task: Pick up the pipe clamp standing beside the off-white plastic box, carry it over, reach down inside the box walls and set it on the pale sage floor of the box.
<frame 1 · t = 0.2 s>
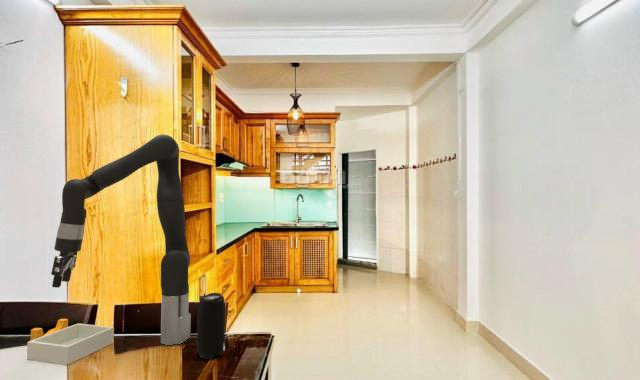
hand: (61, 284, 121), 22 cm above the table, tool pointing down, fingers open, 8 cm apart
walled box: (72, 350, 121), on the table
pipe clamp: (47, 342, 129), on the table
portable speaker: (210, 355, 118), on the table
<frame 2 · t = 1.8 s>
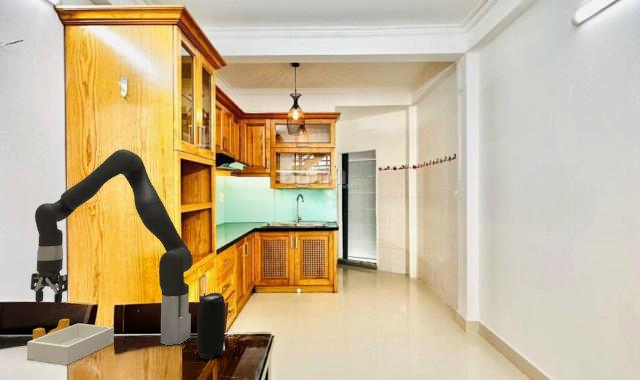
hand: (48, 302, 129), 14 cm above the table, tool pointing down, fingers open, 8 cm apart
nothing on the table moved.
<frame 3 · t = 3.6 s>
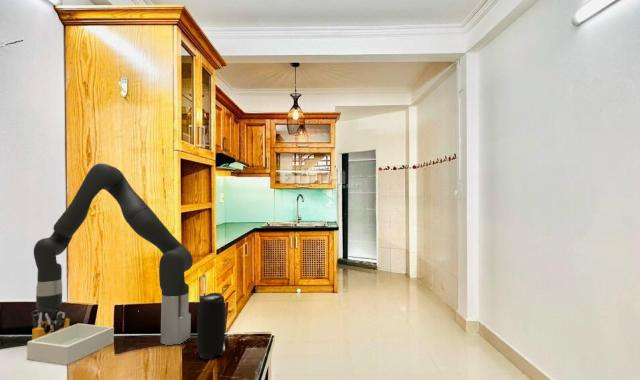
hand: (48, 339, 129), 1 cm above the table, tool pointing down, fingers open, 4 cm apart
nothing on the table moved.
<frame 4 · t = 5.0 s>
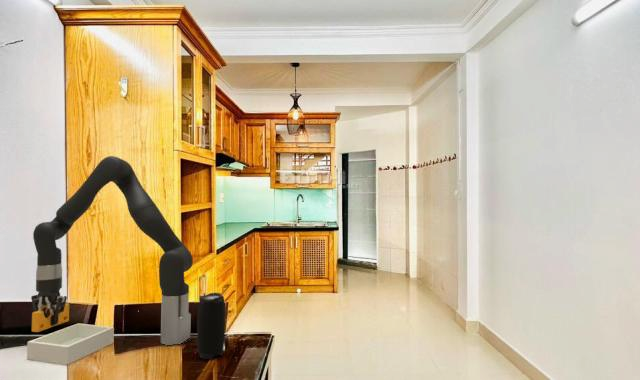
hand: (48, 324, 129), 6 cm above the table, tool pointing down, fingers closed on pipe clamp, 4 cm apart
pipe clamp: (49, 326, 129), point 5 cm above the table, touching gripper
everything else where it was.
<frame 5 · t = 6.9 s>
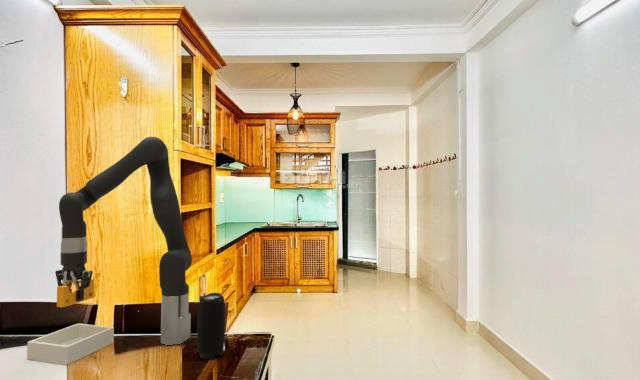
hand: (73, 300, 122), 17 cm above the table, tool pointing down, fingers closed on pipe clamp, 4 cm apart
pipe clamp: (74, 302, 122), point 16 cm above the table, touching gripper
everything else where it was.
when the fingers open (3 cm above the table, at t = 9.8 s): pipe clamp drops 1 cm, resting on walled box.
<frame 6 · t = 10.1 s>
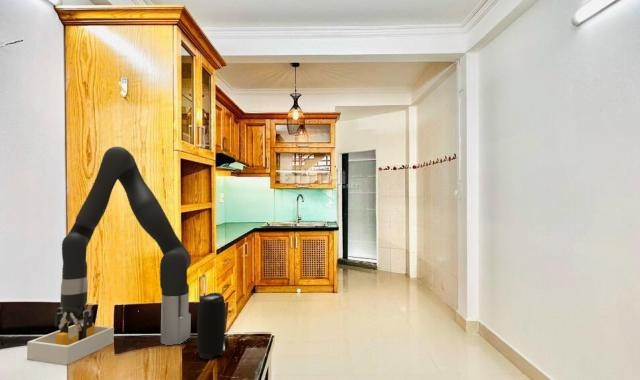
hand: (72, 339, 121), 4 cm above the table, tool pointing down, fingers open, 7 cm apart
pipe clamp: (73, 348, 121), point 1 cm above the table, touching walled box
everything else where it was.
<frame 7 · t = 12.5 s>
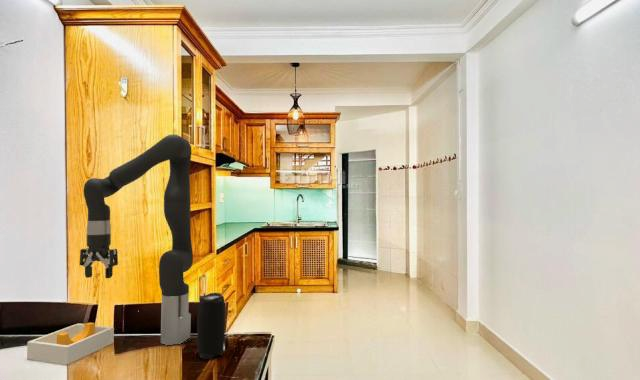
hand: (98, 277, 130), 23 cm above the table, tool pointing down, fingers open, 8 cm apart
nothing on the table moved.
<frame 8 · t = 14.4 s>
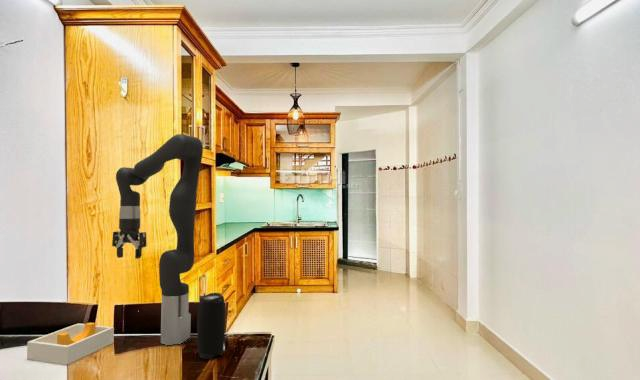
hand: (128, 257, 143), 28 cm above the table, tool pointing down, fingers open, 8 cm apart
nothing on the table moved.
at the end: pipe clamp inside the target area on the walled box (0.6 cm from its centre), point 0.8 cm above the walled box's base; the gripper is holding nothing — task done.
